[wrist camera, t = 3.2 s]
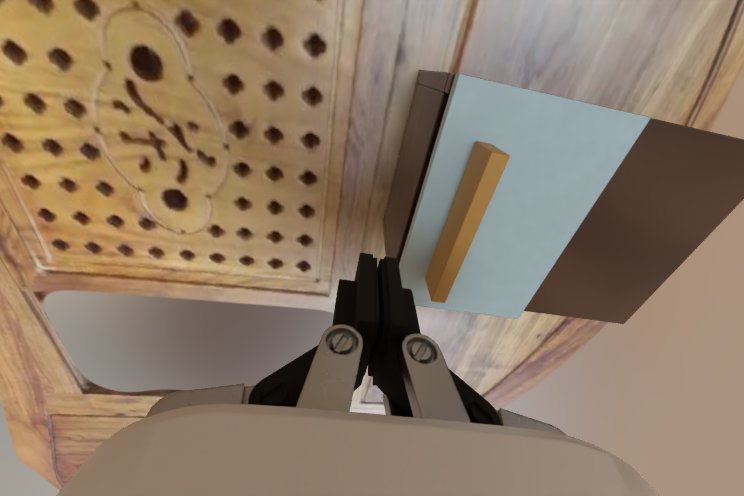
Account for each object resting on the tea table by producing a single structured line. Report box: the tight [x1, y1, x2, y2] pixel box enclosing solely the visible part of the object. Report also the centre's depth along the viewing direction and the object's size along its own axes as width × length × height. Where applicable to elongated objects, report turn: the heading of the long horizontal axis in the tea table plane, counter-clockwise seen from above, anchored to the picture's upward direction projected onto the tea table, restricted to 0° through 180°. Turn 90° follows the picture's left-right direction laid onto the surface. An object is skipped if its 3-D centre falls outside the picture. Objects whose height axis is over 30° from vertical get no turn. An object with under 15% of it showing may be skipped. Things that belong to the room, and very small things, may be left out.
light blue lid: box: [399, 73, 650, 319], centre depth 15 cm, size 13×9×3 cm
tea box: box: [383, 70, 744, 324], centre depth 20 cm, size 13×18×10 cm
